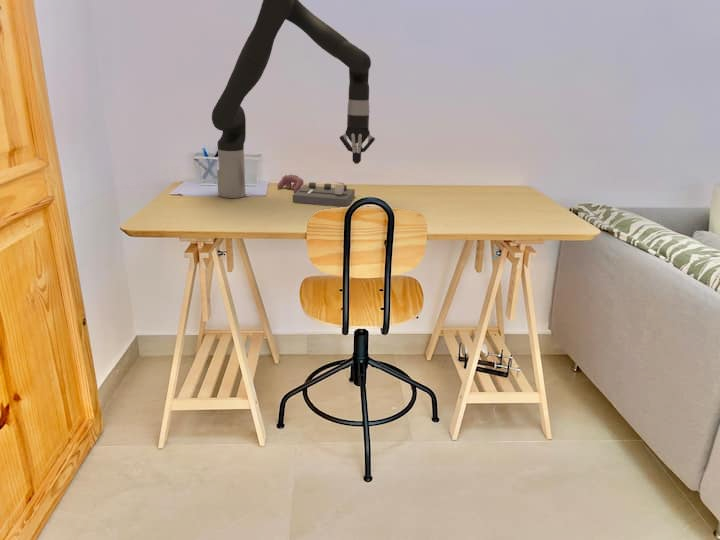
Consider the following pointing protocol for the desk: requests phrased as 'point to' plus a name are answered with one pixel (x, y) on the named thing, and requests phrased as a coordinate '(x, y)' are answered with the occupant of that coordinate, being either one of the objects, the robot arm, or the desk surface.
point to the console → (323, 195)
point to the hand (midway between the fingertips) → (356, 163)
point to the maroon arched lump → (287, 181)
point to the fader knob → (339, 188)
